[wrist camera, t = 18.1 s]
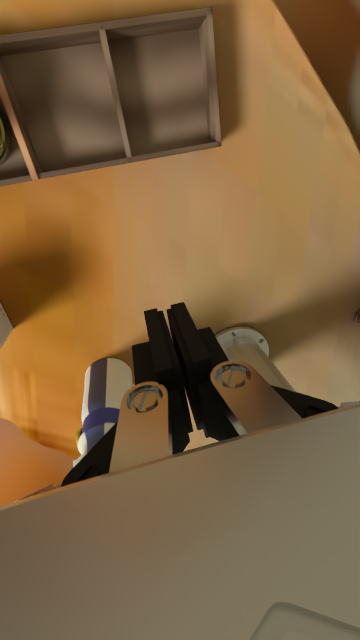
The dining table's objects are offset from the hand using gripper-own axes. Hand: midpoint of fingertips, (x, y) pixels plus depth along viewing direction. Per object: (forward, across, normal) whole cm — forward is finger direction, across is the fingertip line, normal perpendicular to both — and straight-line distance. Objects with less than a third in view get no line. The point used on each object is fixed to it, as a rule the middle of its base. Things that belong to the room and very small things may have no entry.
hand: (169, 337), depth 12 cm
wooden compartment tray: (+29, +4, -12) cm, 32 cm away
